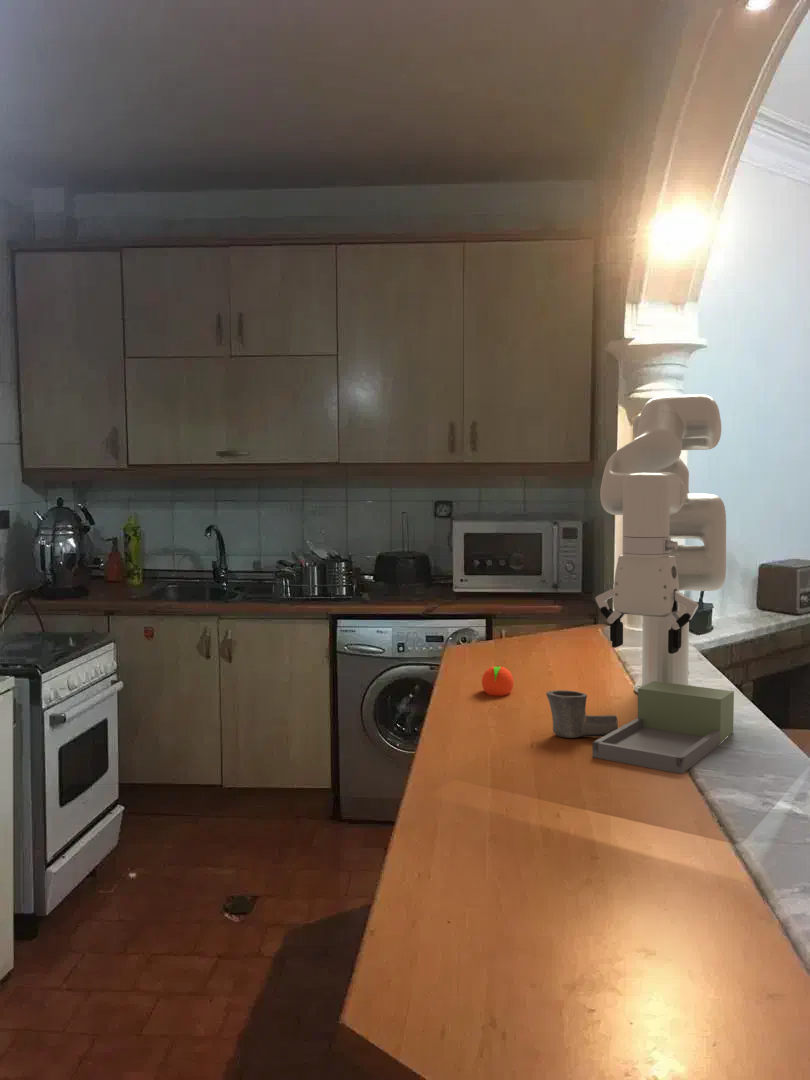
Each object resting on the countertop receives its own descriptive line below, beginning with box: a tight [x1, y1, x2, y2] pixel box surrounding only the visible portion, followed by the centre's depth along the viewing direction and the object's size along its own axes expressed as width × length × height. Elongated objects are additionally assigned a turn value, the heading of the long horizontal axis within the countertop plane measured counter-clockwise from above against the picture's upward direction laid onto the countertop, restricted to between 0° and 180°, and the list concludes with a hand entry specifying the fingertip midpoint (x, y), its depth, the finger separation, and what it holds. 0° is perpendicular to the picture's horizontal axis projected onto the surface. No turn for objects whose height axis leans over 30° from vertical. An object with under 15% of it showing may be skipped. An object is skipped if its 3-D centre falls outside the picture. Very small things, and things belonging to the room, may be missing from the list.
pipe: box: [545, 689, 619, 739], centre depth 154 cm, size 6×13×8 cm, turn 77°
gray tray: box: [591, 681, 735, 775], centre depth 148 cm, size 28×15×8 cm, turn 143°
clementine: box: [481, 665, 515, 697], centre depth 184 cm, size 8×7×7 cm
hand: (644, 649), depth 142 cm, fingers open, 9 cm apart
